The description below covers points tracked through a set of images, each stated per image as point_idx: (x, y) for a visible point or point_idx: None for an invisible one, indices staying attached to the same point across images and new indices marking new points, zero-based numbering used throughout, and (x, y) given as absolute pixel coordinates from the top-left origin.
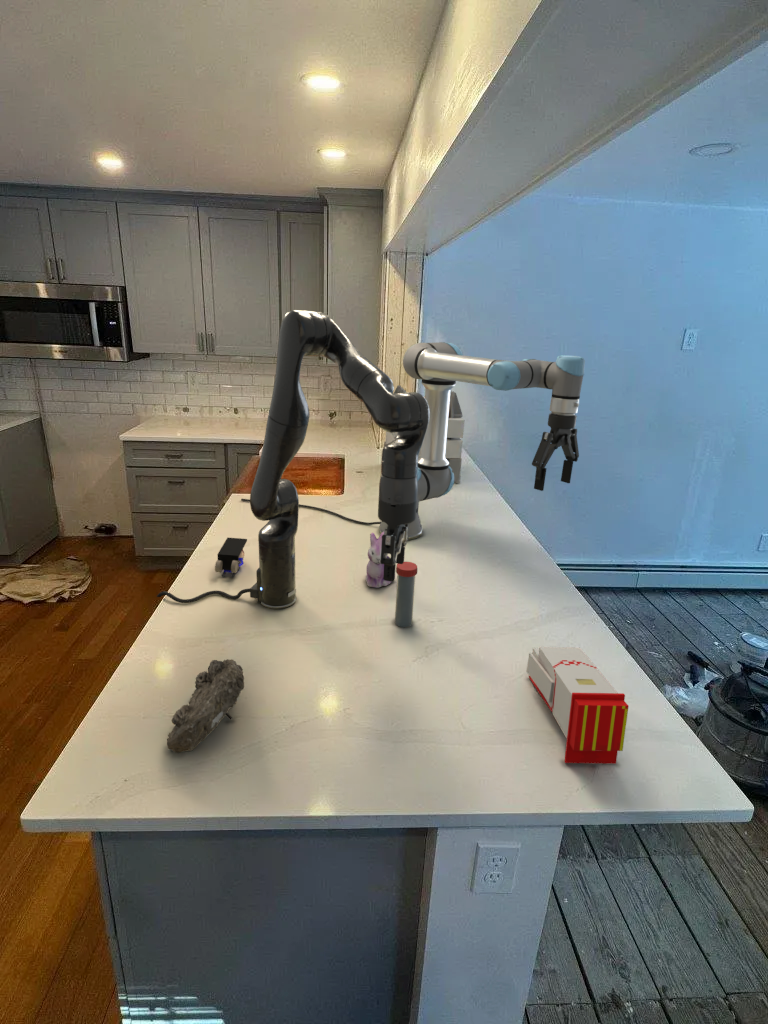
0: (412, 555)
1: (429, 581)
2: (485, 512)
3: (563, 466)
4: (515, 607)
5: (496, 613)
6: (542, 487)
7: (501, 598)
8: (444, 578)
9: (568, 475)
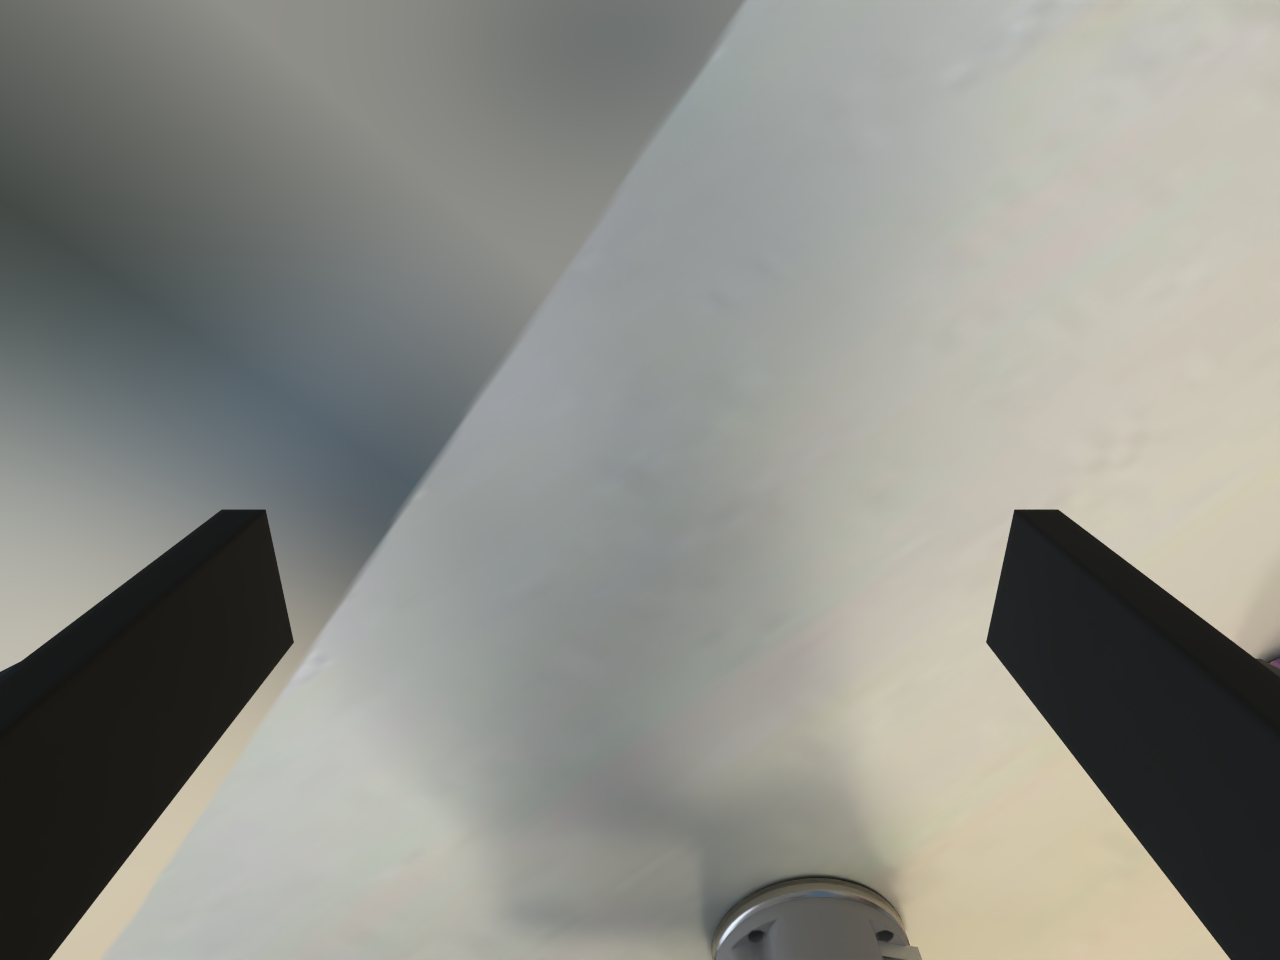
0: (971, 778)
1: (1155, 575)
2: (265, 912)
3: (124, 844)
4: (1125, 133)
5: (1256, 156)
6: (1087, 536)
7: (1080, 250)
8: None
9: (191, 603)
